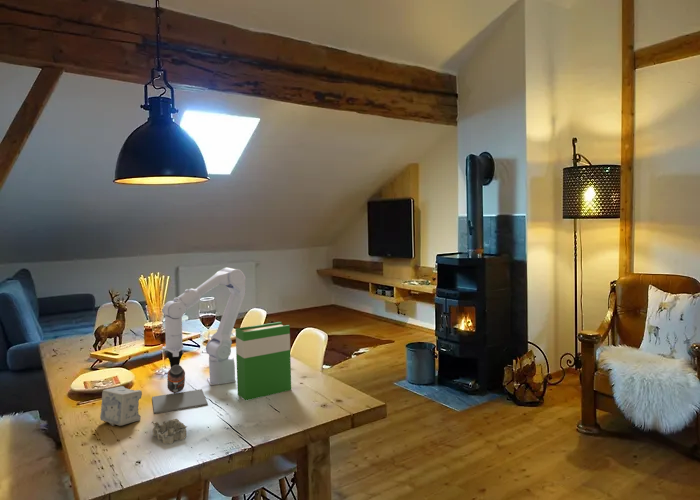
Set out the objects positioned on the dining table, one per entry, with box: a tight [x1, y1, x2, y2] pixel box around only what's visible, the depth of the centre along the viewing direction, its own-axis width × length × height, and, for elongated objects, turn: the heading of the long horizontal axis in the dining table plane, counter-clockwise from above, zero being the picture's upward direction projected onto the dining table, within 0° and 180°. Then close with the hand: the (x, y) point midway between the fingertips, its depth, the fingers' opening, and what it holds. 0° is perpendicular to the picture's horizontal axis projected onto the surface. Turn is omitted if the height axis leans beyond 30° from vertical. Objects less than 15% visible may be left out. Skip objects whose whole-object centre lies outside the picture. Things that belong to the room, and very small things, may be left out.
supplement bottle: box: [166, 364, 186, 394], centre depth 179 cm, size 6×6×11 cm
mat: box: [151, 388, 209, 415], centre depth 172 cm, size 17×15×1 cm
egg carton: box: [151, 418, 188, 445], centre depth 146 cm, size 11×8×4 cm
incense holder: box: [99, 385, 143, 427], centre depth 157 cm, size 10×8×10 cm
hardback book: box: [234, 321, 292, 402], centre depth 180 cm, size 18×7×24 cm, turn 124°
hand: (174, 371), depth 181 cm, fingers closed
